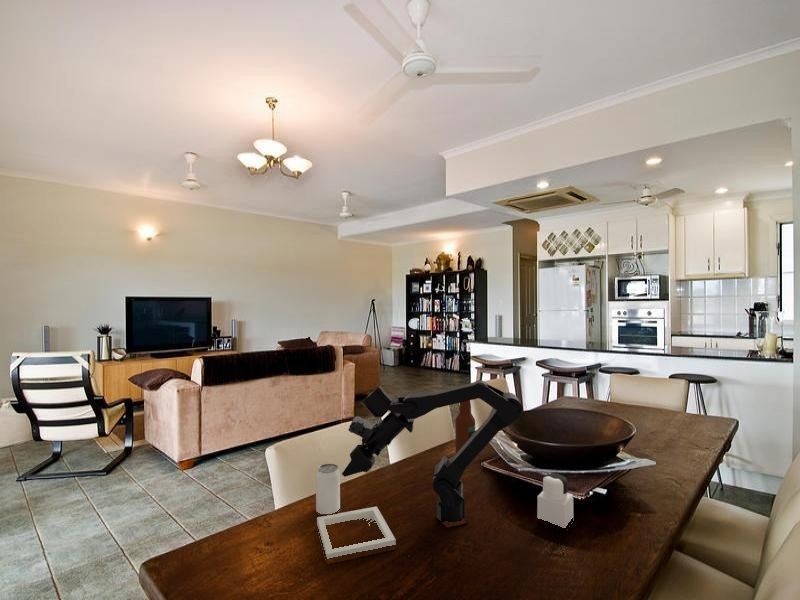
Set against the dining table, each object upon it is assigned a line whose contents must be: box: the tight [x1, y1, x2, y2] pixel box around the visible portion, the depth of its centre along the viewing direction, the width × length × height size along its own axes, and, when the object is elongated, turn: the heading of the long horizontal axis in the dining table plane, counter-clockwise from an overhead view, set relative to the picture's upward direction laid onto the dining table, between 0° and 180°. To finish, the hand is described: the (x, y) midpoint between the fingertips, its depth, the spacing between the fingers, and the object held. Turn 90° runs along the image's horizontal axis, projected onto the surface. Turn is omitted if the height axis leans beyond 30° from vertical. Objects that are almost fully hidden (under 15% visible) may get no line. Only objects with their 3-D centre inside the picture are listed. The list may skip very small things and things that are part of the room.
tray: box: [316, 506, 397, 559], centre depth 101 cm, size 16×16×2 cm
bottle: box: [455, 400, 476, 454], centre depth 153 cm, size 7×7×25 cm
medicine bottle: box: [536, 473, 574, 528], centre depth 107 cm, size 7×7×12 cm
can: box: [315, 463, 341, 514], centre depth 114 cm, size 6×6×12 cm
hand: (348, 467), depth 113 cm, fingers open, 9 cm apart
